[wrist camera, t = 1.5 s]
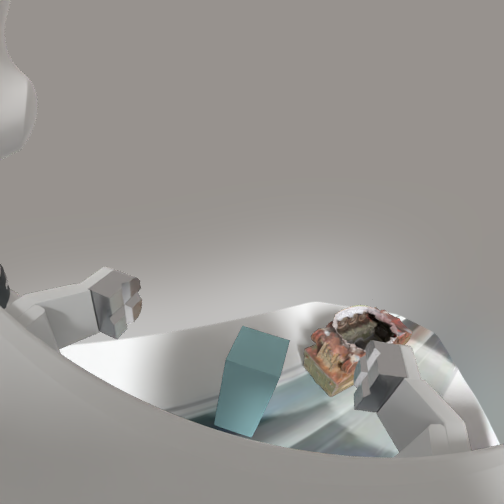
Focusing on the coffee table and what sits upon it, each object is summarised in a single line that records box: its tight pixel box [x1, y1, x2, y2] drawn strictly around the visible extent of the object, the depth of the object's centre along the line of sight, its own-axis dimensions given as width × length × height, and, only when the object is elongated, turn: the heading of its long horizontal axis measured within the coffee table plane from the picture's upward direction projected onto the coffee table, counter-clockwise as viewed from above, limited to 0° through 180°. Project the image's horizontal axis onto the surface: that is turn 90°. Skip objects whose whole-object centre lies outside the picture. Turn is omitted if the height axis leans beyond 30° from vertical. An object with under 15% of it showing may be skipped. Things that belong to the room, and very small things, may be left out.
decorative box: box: [304, 305, 412, 397], centre depth 41 cm, size 13×20×10 cm, turn 110°
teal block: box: [214, 326, 290, 437], centre depth 28 cm, size 5×5×14 cm
